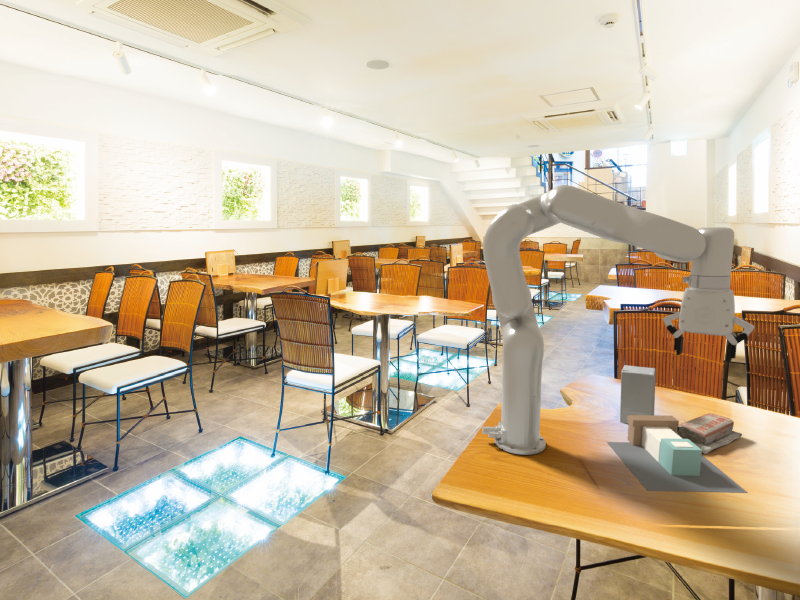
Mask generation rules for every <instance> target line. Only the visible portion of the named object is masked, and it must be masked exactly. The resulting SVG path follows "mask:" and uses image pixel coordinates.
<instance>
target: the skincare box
mask: <svg viewBox="0 0 800 600" xmlns="http://www.w3.org/2000/svg"><path fill="white" fill-rule="evenodd" d="M620 371H621V372H620V407H619V409H620V411H619V412H620V413H619V423H622V424H627V425H629V422H628V421H627V416H628V415H655V403H656V402H655V401H656V398H655V397H656V379H657V377H656V368H655V367H647V366H646V367H644V366H635V365H627V364H623V368H622V369H621V370H620Z"/></svg>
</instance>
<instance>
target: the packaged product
mask: <svg viewBox="0 0 800 600" xmlns="http://www.w3.org/2000/svg"><path fill="white" fill-rule="evenodd" d="M733 429H734V421H733V420H732V419H730V417H725V416H722V415H719V414H716V413H715V414H714V413H711V412H709V413H706V414H703V415H700V416H697V417H696V418H693V419H690V420H688V421H685V422H682V423H680V424H679V426H678V427H677V429H676V434H677V435H679V436H680V437H681V438H682V439H689V440H690V441H691V442H693V443H694V444H695V445H696V446H698V447H699V448H700V449H701V450H702V453H703V454H704V455H707V454H708V453H710V452H711V451H713V450H714V449H718V448H720V447H723V446H727V445H729V444H730V443H732V441H734V440H736V439H740V437H742V435H743V433H741V432H737V431H735V430H733Z"/></svg>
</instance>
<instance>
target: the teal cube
mask: <svg viewBox="0 0 800 600" xmlns="http://www.w3.org/2000/svg"><path fill="white" fill-rule="evenodd" d="M702 455H703V454H702V450H701V449H700V448H699V447H698V446H696V445H695V444H694V443H693V442H691V441H690V440H689V439H665V438H661V445H660V457H659V463H660V464H661V465H662V466H663V467H664V468H665V469H666V470H667V471H668V472H669V473H670V474H671V475H686V476H700V466H701V456H702Z"/></svg>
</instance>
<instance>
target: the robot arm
mask: <svg viewBox="0 0 800 600" xmlns="http://www.w3.org/2000/svg"><path fill="white" fill-rule="evenodd" d="M558 224H563V225H565V226H566V225H567V226H568V227H571V228H575V229H577V230H580V231H582V232H585V233H587V234H590V235H593V236H596V237H599V238H601V239H603V240H607V241H610V242H613V243H620V244H626V245H629V246H633V247H637V248H641V249H642V250H646V251H649V252H652V253H654V255H656V256H657V257H659V258H661V260H662V259H663V260H666V261H673V262H676V263H689V262H691V263H690V274H689V275H688V276H683V277H682V283H686V284H687V285H688V287H685V289H684V291H683V295H682V299H681V304H680V311H678V312H675V313H673V314H670V315H667V316H664V317H663V318H662V321H663V324H664V325H665V327H666V330H667V331H668V332H669V333H670V334H671V335H672V337H673V338H674V345H673V350H674V351H676V352H675V353H676V354H675V355H677V356H680V355H681V354H682V353H683V351H684V350H683V349H684V339H685V338H684V337H683V334H684V333H692V334H699V335H708V336H719V337H725V338H726V339H727V341H728V342H729V343H728V344H727V348H726V358H725V362H726V363H731V361H732V360H733V359H736V357H737V356H736V355H737V345H738V344H740V343H741V342H742V341H744V340H746V339H747V338H748V337H749V335H750V334H751V333H752V332H753V331H754V329H755V325H753V324H752V323H750V322H748V321H746V320H744V319H742V318H740V317H738V316H736V315H735V314H736V313H735V312H736V308H735V307H736V306H735V304H736V302H735V294H734V290H733V289H730V287H731V278H732V267H733V257H734V256H733V255H734V246H735V245H734V244H735V231H734V230H733V229H732V228H730V227H724V226H723V227H722V226H721V227H720V226H719V227H718V226H717V227H715V226H714V227H701V228H698V229H697V228H695V227H693V226H690V225H688V224H685V223H682V222H680V221H677V220H674V219H671V218H668V217H665V216H661V215H658V214H655V213H652V212H650V211H649V212H648V211H645V210H642V209H639V208H637V207H635V206H631V205H627V204H624V203H622V202H618V201H615V200H613V199H610V198H607V197H604V196H600V195H598V194H595V193H593V192H590V191H588V190H584V189H582V188H579V187H575V186H572V185H568V184H561V185H557V186H555V187H554V188H552V189H550V190H548V191H546V192H544V193H543V194H541V195H538V196H536V197H533V198H531V199H528V200H525V201H523V202H521V203H520V202H519V203H514V204H511V205H508V206H507V207H505V208H503V209H502V210H501V211H499V213H498V214H497V215H496V216H495V217H494V218H493V220H492V221H491V222H490V224H489V225H488V227H487V229H486V231H485V234H484V237H483V243H482V254H483V260H484V264H485V265H484V266H485V268H486V273H487V279H488V282H489V286H490V289H491V297H492V303H493V306H494V308H495V310H496V315H497V318H498V322H499V325H500V329H501V335H502V369H501V371H502V373H501V414H500V417H501V418H500V420H501V421H498V422H497V423H498V425H494V426H482V431H481V432H482V435H487V436H488V439H489V438H493V439H494V443H495V445H496V446H497V447H498V448H499V449H500V450H502V449H503V450H502V451H504V452H507V453H511V454H514V455H522V456H524V455H525V456H526V455H527V456H529V455H536V454H540V453H541V452H543V451H544V450H545V449H546V445H547V443H546V439H545V438H544V437H542V435H541V434H540V431H541V430H540V428H541V427H540V426H541V407H542V404H541V403H542V401H541V400H542V378H543V377H542V374H543V362H544V352H545V343H544V337H543V334H542V331H541V329H540V328H539V324H538V321H537V317H536V313H535V310H534V309H535V308H534V304H533V300H532V292H531V289H530V287H529V285H528V283H527V279H526V276H525V271H524V268H523V262H522V258H521V253H520V249H521V244H522V241H523V240H524V239H526V238H527V237H528V236H531V235H532V234H536V233H538V232H541V231H544V230H546V229H549V228H551V227H553V226H555V225H558ZM677 319H678V328H679V329H677V327H676V326H675V325H674V324H673V323H672V321H675V320H677ZM735 325H737V326H739V327H740V328H742V329H743V331H742V332H741V333H739V334H738V335H736V334H735V333H734V327H735Z"/></svg>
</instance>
